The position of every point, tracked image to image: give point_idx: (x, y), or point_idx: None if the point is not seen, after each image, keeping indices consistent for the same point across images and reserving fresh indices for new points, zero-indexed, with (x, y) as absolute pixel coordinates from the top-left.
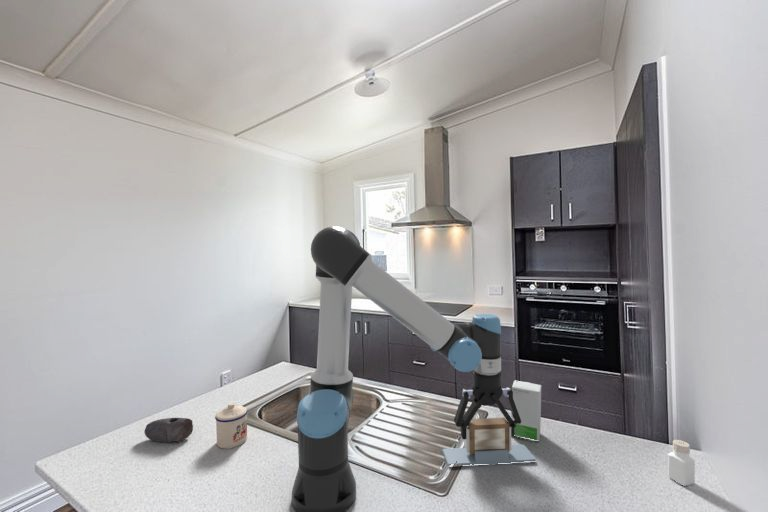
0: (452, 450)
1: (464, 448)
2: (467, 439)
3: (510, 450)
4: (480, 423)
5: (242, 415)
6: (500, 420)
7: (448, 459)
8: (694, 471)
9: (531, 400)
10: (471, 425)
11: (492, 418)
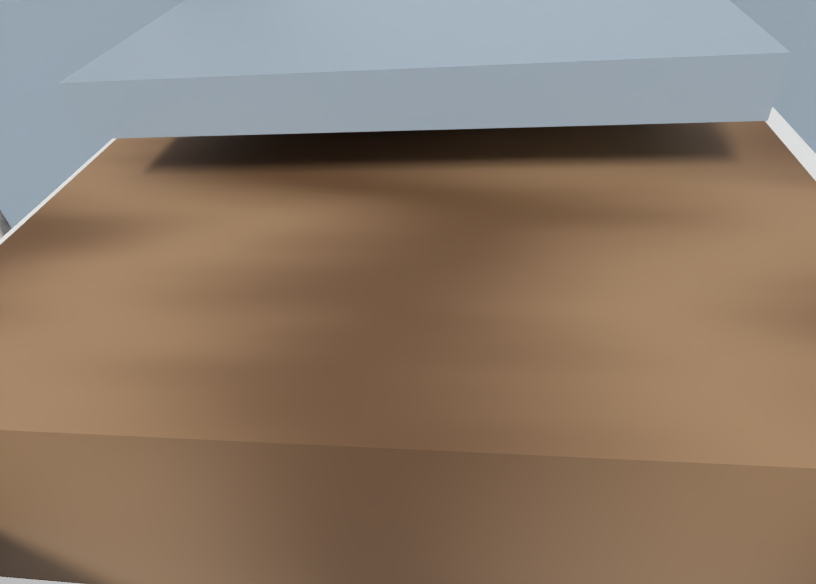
0: (9, 54)
1: (152, 11)
2: None
3: (780, 92)
4: (196, 563)
5: None
6: (763, 553)
7: (16, 208)
8: None
9: None
10: (25, 577)
11: (579, 477)
